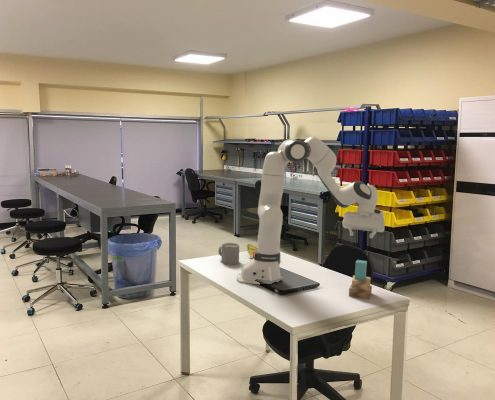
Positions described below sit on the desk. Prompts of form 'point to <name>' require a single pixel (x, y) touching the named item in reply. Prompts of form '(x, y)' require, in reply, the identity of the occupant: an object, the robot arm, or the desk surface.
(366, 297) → the walnut base block
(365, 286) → the oak top block
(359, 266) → the teal pillar
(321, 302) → the desk surface
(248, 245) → the plastic component
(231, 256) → the coffee mug
